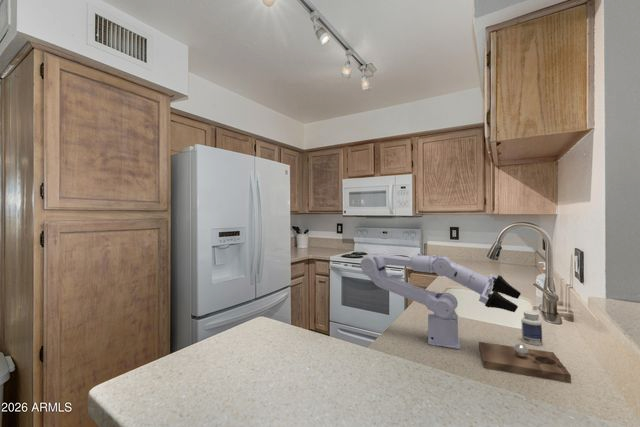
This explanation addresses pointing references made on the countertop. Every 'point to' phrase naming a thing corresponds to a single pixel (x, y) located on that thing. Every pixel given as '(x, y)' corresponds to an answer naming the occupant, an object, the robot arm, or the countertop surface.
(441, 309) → the robot arm
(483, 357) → the walnut board
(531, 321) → the pill bottle
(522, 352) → the steel ball
